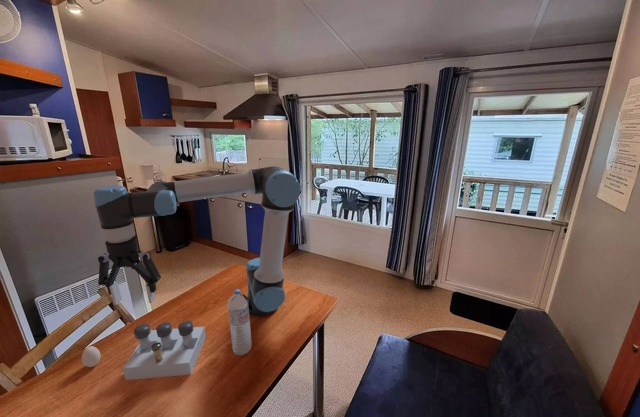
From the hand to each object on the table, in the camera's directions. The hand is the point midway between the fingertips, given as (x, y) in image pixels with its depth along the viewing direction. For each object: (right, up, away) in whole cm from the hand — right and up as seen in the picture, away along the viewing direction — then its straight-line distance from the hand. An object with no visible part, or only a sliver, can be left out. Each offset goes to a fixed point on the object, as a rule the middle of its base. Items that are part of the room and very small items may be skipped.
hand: (135, 301), depth 84 cm
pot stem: (+7, -19, +1) cm, 21 cm away
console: (+7, -22, +8) cm, 25 cm away
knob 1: (0, -17, +5) cm, 18 cm away
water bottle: (+31, -22, +12) cm, 40 cm away
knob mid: (+7, -17, +6) cm, 19 cm away
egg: (-17, -23, +4) cm, 29 cm away
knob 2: (+14, -17, +7) cm, 23 cm away
